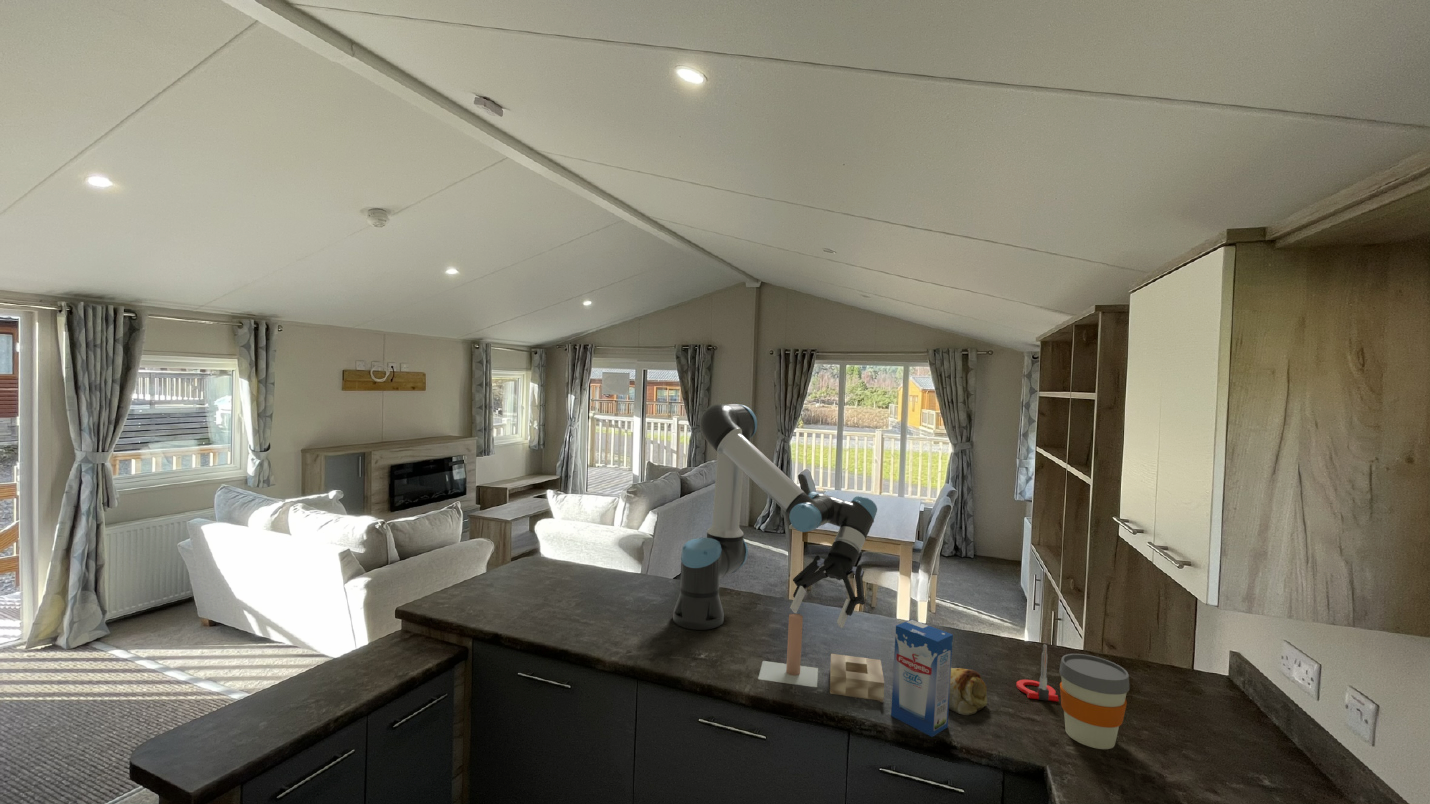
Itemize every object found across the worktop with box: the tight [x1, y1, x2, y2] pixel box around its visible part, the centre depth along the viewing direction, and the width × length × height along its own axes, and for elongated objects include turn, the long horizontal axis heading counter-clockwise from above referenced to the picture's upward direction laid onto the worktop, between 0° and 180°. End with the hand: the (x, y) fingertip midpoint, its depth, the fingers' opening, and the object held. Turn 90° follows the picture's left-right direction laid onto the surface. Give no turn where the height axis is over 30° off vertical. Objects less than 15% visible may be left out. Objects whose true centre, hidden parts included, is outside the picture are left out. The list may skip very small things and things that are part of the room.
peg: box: [786, 613, 804, 676], centre depth 150 cm, size 3×3×14 cm
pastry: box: [949, 667, 988, 716], centre depth 141 cm, size 14×12×8 cm
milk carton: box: [890, 619, 954, 738], centre depth 130 cm, size 10×6×20 cm, turn 40°
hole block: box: [829, 653, 885, 703], centre depth 145 cm, size 12×12×4 cm
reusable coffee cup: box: [1058, 653, 1130, 750], centre depth 128 cm, size 13×13×15 cm
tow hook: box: [1015, 643, 1060, 702], centre depth 146 cm, size 8×13×9 cm
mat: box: [757, 660, 819, 688], centre depth 149 cm, size 14×10×1 cm
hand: (815, 617), depth 154 cm, fingers open, 13 cm apart
